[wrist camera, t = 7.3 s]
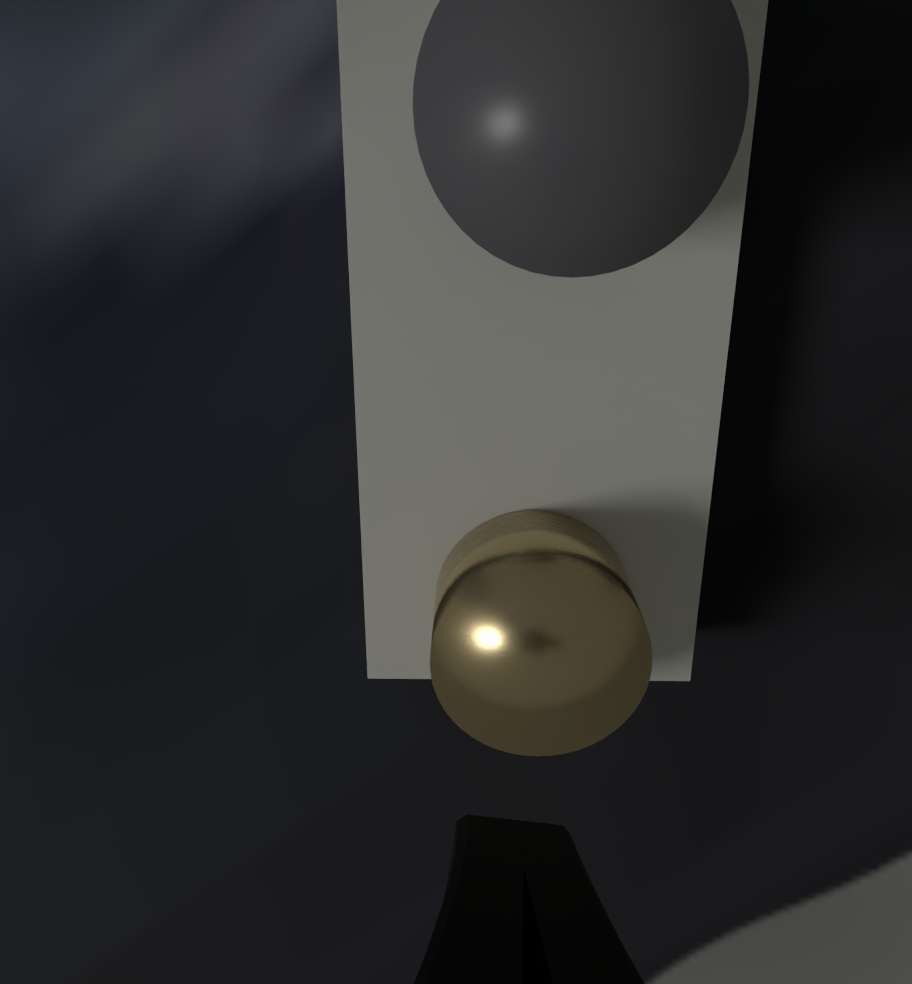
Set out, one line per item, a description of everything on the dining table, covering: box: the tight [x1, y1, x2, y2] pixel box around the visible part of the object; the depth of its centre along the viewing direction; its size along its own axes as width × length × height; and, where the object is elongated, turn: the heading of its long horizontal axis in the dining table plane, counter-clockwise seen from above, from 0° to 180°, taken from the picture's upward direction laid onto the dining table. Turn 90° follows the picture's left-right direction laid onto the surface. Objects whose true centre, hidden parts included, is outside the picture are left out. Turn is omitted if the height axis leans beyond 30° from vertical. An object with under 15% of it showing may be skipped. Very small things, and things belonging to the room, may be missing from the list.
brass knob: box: [430, 510, 652, 756], centre depth 17 cm, size 4×4×4 cm
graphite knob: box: [413, 0, 749, 278], centre depth 12 cm, size 4×4×4 cm
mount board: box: [336, 0, 768, 681], centre depth 15 cm, size 22×7×2 cm, turn 0°
